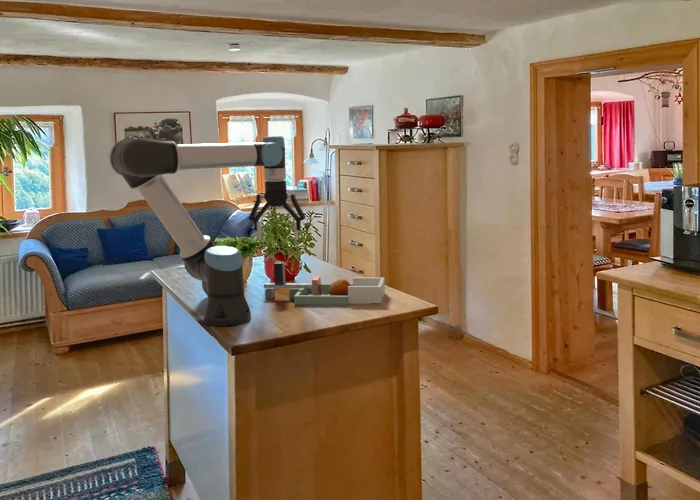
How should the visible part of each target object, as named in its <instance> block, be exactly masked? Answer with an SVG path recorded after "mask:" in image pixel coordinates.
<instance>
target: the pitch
mask: <svg viewBox="0 0 700 500" xmlns="http://www.w3.org/2000/svg"><path fill="white" fill-rule="evenodd" d="M331 284H332V283H321V293H328V294H327V295H322V294H321V295H312V294H311V295H309V294H308V293H312V288H289V290H288V291H289V292H288V293H289V294H288V295H289V296H288V297H289V298H288V299H289V300H294V301H293V302H294V303H293V304H294V305H300V306H301V305H304V306H306V305H308V306H309V305H313V306H315V305H317V306H348V304H349V303H348V296H331V295H330V293H329V288H330V286H331ZM350 285H351V286H353V283H350ZM275 289H276V288H265V289H264V296H265V297H264V298H265V300H273V299H274V298H275V296H276V291H275Z"/></svg>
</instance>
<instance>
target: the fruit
mask: <svg viewBox="0 0 700 500" xmlns="http://www.w3.org/2000/svg"><path fill="white" fill-rule="evenodd" d="M330 284H331V286H330V288H329V292H328V294H329V293H330V294H329V296H348V286H351V285H350V284H351V283H350V282H349V281H348V280H347V279H345V278H342V279H341V278H340V279H338V280H336V281H333V282H332V283H330Z"/></svg>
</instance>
